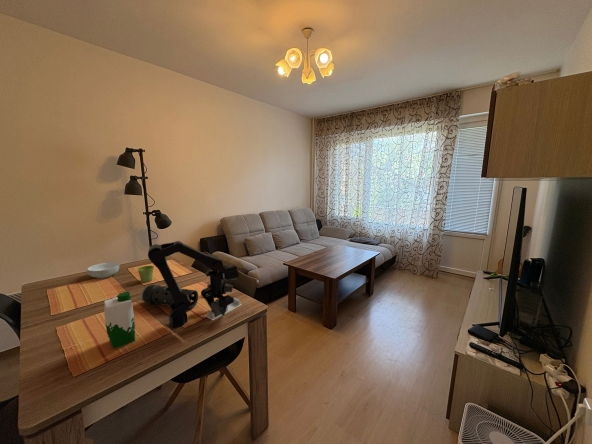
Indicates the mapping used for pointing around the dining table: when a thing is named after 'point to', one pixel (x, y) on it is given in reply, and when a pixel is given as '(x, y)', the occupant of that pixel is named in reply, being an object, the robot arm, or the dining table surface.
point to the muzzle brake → (164, 295)
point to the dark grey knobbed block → (215, 308)
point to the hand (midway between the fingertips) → (217, 312)
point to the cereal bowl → (103, 270)
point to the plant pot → (145, 273)
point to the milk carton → (119, 320)
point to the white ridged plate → (229, 308)
